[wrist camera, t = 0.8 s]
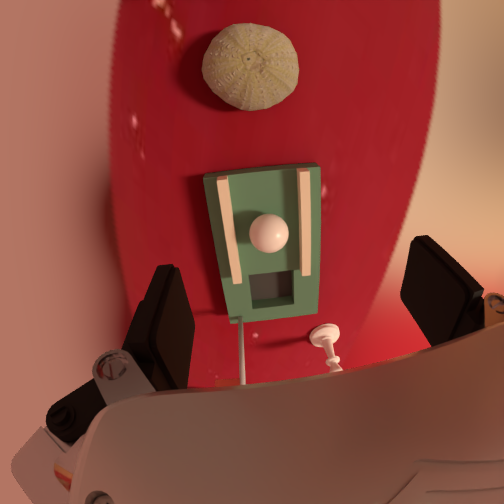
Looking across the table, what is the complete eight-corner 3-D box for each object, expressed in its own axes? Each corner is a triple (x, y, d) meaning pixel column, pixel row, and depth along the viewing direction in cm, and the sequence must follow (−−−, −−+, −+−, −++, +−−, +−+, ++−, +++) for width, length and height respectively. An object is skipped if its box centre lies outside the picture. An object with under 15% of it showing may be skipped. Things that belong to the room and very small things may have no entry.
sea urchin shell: (237, 134, 26) (201, 82, 18) (213, 89, 28) (180, 43, 20) (319, 93, 24) (306, 33, 16) (284, 54, 26) (264, 2, 19)
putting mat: (191, 175, 29) (159, 233, 17) (315, 162, 29) (368, 210, 17) (220, 314, 39) (216, 399, 27) (314, 303, 39) (339, 384, 27)
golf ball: (246, 210, 30) (248, 226, 26) (284, 206, 30) (290, 221, 26) (250, 243, 32) (252, 262, 28) (286, 239, 32) (292, 257, 28)
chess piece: (322, 347, 45) (336, 396, 36) (303, 337, 43) (315, 388, 34) (344, 330, 43) (363, 379, 34) (326, 318, 41) (344, 370, 33)
